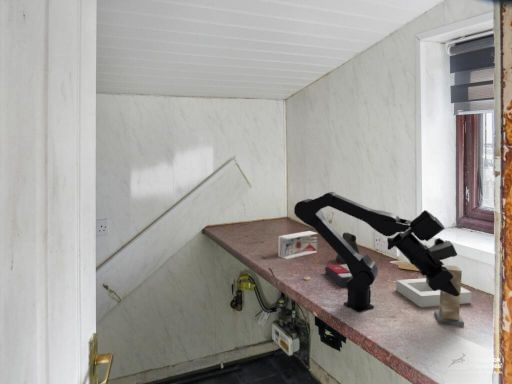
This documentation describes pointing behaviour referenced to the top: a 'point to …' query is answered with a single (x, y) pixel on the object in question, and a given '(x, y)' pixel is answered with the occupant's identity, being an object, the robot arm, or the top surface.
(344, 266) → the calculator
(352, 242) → the phone stand
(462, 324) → the keyhole post
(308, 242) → the cigarette display
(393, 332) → the top surface
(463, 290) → the keyhole plate
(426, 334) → the top surface
